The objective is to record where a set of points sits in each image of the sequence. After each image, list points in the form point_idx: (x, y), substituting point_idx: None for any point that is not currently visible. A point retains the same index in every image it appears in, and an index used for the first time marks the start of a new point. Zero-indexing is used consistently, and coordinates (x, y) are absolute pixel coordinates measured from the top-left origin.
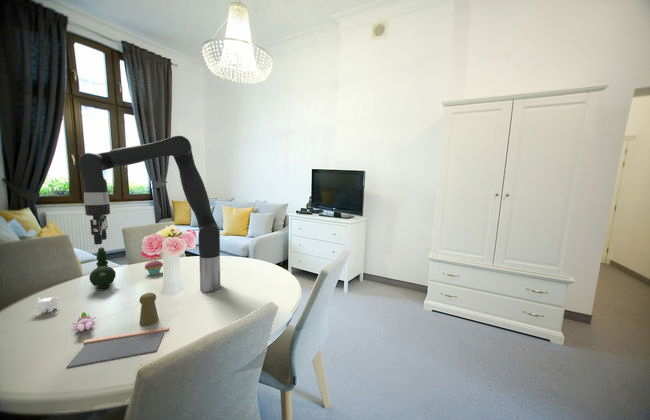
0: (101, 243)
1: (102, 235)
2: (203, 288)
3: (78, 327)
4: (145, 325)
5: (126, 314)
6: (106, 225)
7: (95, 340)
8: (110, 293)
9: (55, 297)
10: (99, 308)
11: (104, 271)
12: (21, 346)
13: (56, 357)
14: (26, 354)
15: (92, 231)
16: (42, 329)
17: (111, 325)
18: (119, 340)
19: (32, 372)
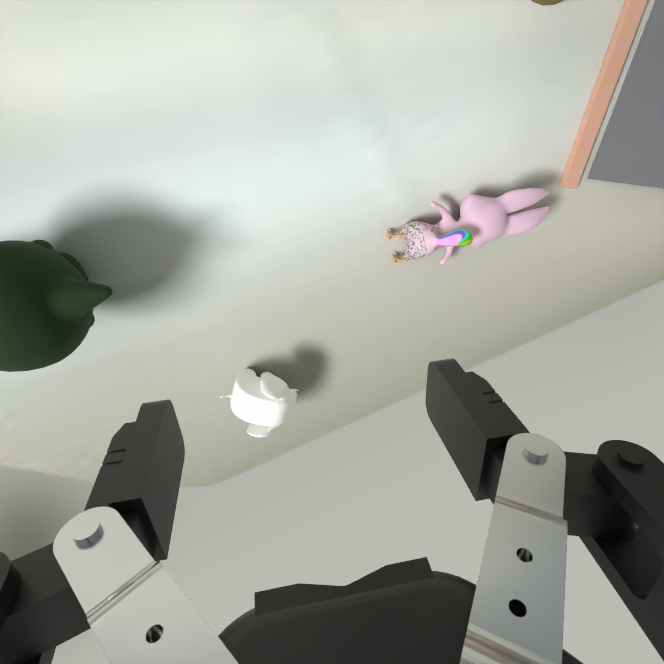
0: (454, 359)
1: (169, 471)
2: None
3: (536, 224)
4: None
5: (424, 85)
6: (166, 596)
7: (589, 153)
8: (133, 224)
9: (268, 392)
10: (306, 221)
11: (40, 303)
12: (478, 341)
13: (596, 234)
14: (530, 311)
15: (654, 547)
16: (400, 338)
17: (494, 128)
18: (642, 66)
19: (628, 260)
